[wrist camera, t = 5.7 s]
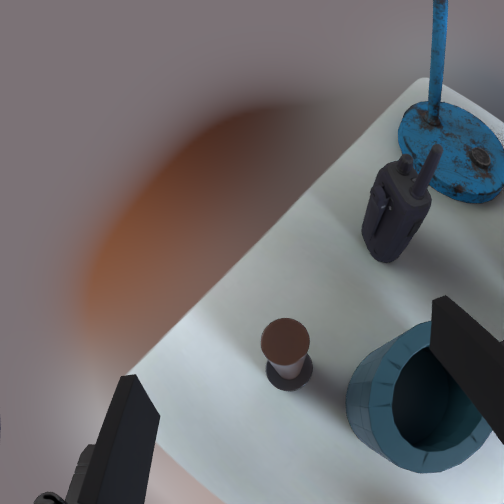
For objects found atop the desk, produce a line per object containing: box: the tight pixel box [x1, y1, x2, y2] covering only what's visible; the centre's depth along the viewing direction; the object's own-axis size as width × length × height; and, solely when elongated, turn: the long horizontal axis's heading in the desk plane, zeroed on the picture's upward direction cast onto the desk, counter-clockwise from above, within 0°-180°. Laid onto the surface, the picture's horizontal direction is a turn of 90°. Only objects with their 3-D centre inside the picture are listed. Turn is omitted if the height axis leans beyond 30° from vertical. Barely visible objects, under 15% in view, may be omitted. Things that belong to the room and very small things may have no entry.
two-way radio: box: [362, 144, 443, 263], centre depth 24 cm, size 6×4×15 cm
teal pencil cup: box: [346, 321, 492, 473], centre depth 20 cm, size 10×10×9 cm
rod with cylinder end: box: [261, 318, 313, 391], centre depth 18 cm, size 3×3×18 cm
